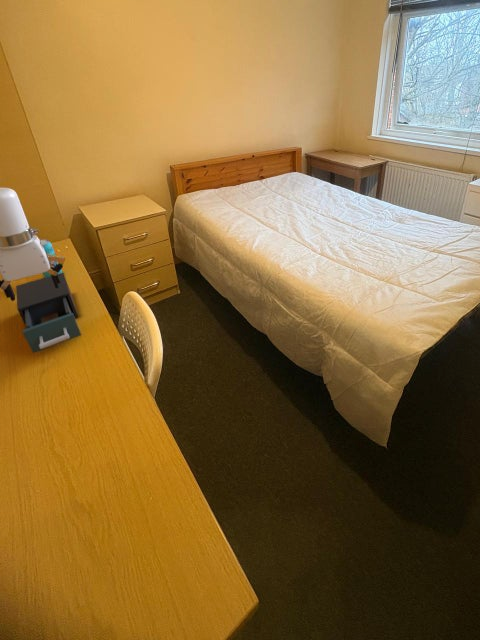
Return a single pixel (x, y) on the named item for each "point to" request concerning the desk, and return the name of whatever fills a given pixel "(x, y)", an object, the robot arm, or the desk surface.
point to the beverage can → (50, 251)
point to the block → (49, 317)
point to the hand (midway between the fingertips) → (35, 291)
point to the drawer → (49, 325)
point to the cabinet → (43, 294)
